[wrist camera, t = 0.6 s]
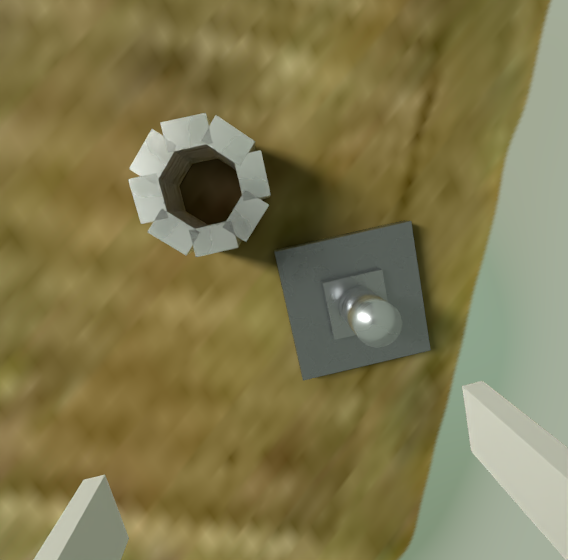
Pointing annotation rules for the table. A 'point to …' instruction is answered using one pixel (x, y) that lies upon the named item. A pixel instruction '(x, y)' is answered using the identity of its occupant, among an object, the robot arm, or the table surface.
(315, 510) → the table surface
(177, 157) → the ring
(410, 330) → the shaft block
